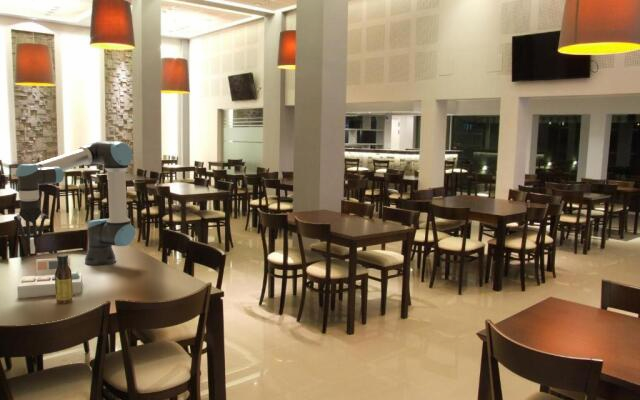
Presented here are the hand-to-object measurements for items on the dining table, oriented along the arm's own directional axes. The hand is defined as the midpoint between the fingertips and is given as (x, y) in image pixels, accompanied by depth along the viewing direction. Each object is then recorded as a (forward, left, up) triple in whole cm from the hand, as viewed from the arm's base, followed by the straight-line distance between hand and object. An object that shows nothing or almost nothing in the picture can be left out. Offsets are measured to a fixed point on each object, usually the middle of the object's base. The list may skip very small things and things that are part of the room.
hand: (33, 252), depth 229 cm
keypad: (-7, +5, -16) cm, 18 cm away
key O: (-10, +5, -15) cm, 18 cm away
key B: (-4, +5, -15) cm, 16 cm away
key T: (+2, +5, -15) cm, 15 cm away
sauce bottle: (-13, +24, -16) cm, 32 cm away
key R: (-16, +5, -13) cm, 21 cm away
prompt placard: (-7, -8, -16) cm, 19 cm away
